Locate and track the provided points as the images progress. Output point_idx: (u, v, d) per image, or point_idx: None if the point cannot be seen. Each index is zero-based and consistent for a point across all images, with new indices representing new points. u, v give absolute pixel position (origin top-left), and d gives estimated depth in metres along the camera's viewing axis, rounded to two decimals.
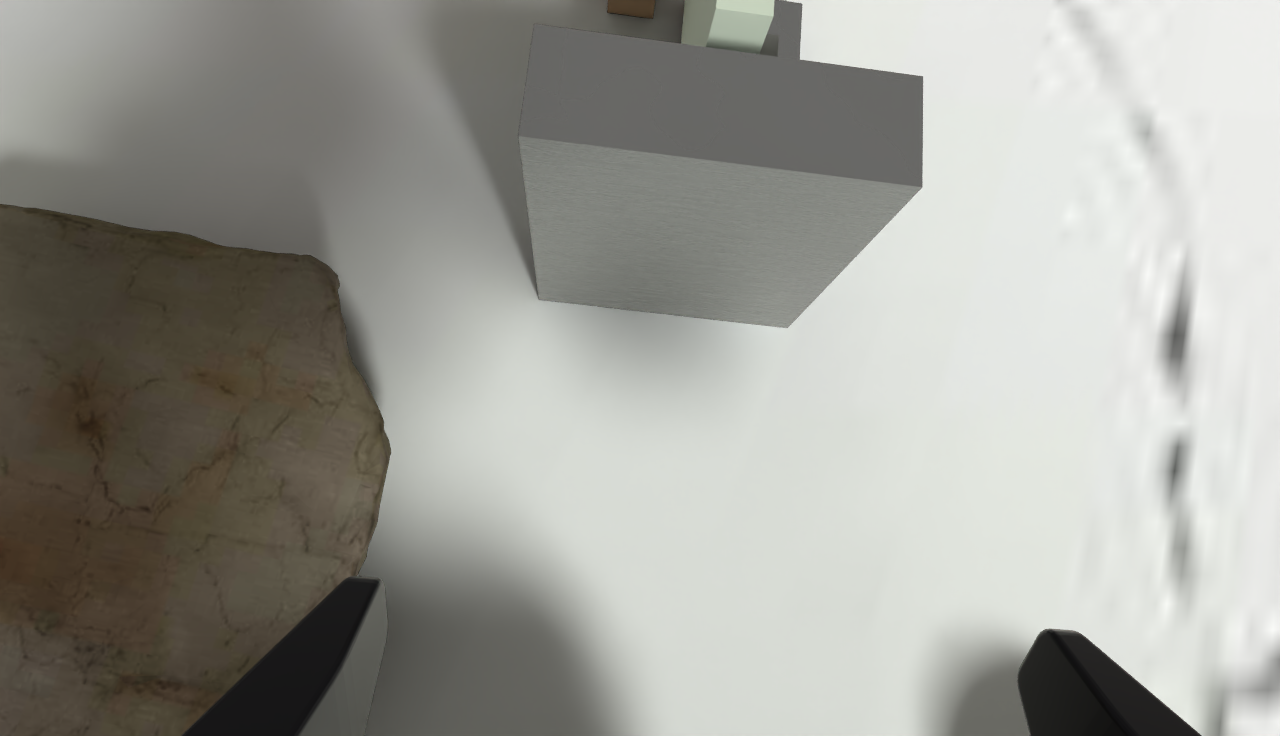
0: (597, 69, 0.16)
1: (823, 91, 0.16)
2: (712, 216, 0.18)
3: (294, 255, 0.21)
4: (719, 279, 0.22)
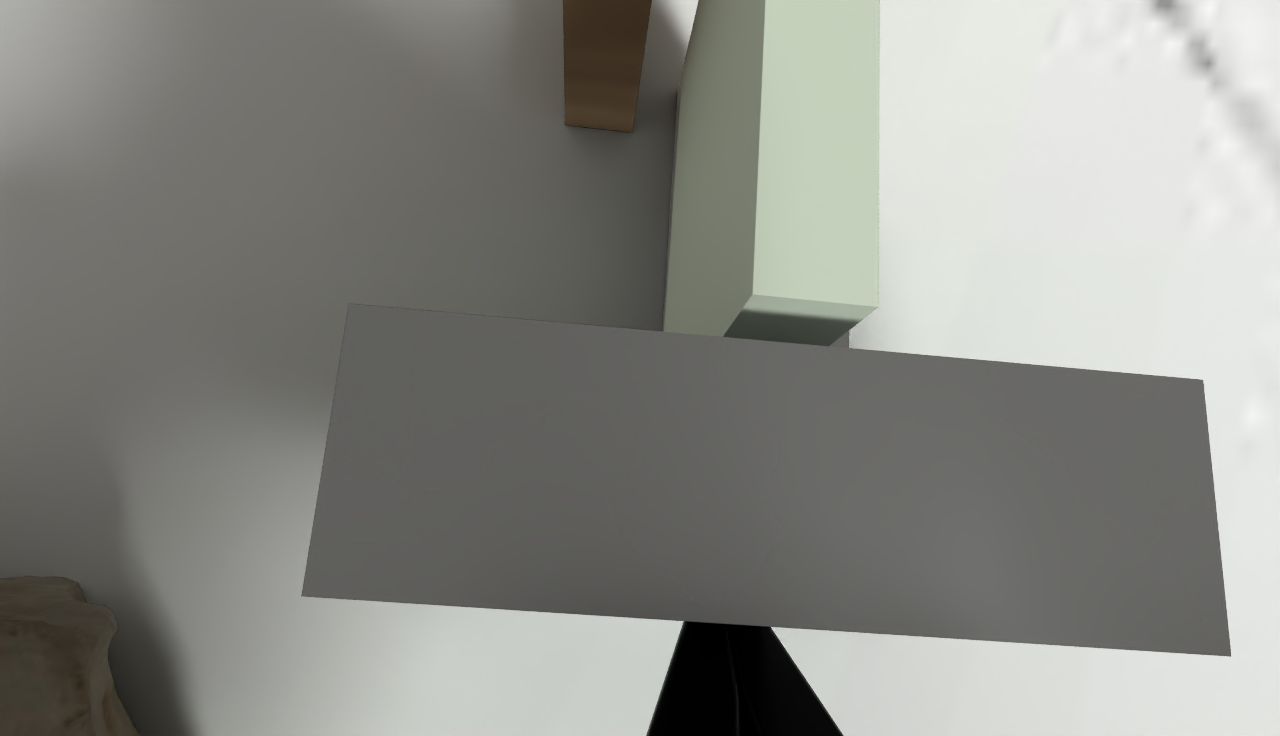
0: (492, 408, 0.07)
1: (996, 430, 0.07)
2: None
3: (11, 622, 0.12)
4: None
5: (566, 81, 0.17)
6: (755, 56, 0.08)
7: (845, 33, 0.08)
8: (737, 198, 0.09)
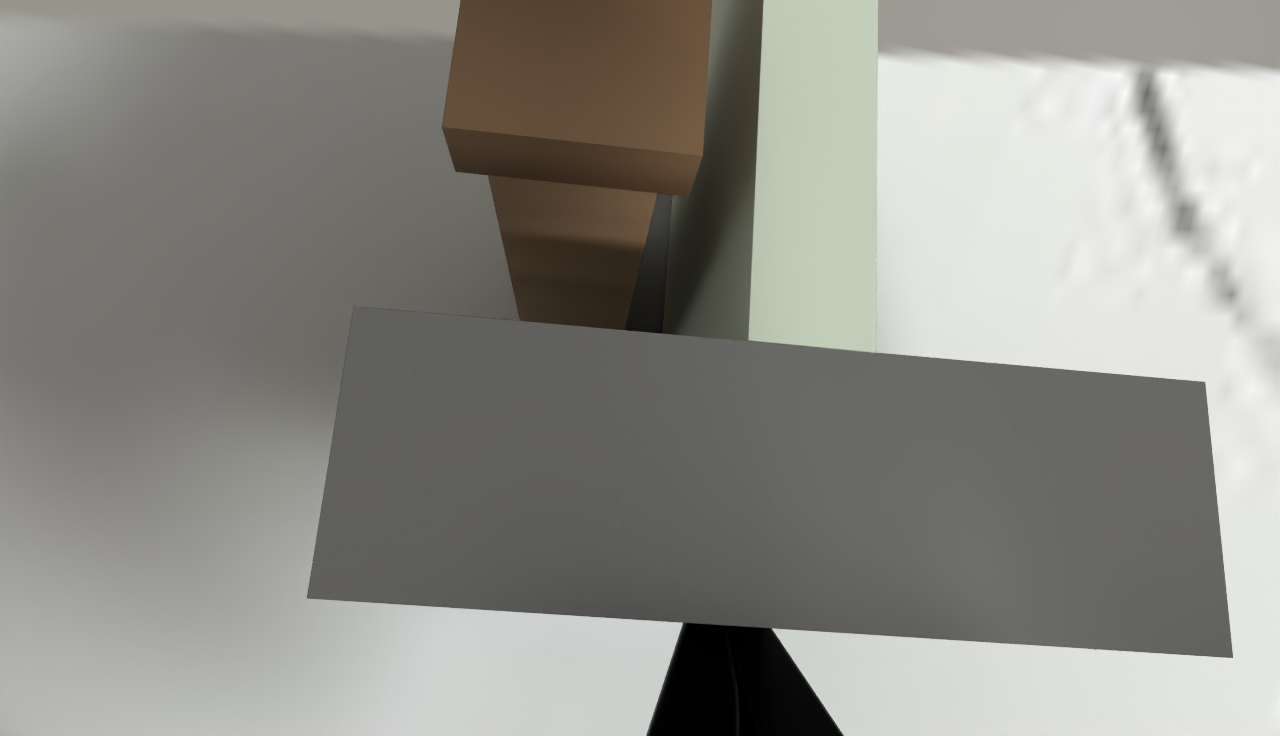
0: (496, 411, 0.07)
1: (999, 432, 0.07)
2: None
3: None
4: None
5: None
6: (751, 93, 0.08)
7: (842, 71, 0.08)
8: (733, 235, 0.09)
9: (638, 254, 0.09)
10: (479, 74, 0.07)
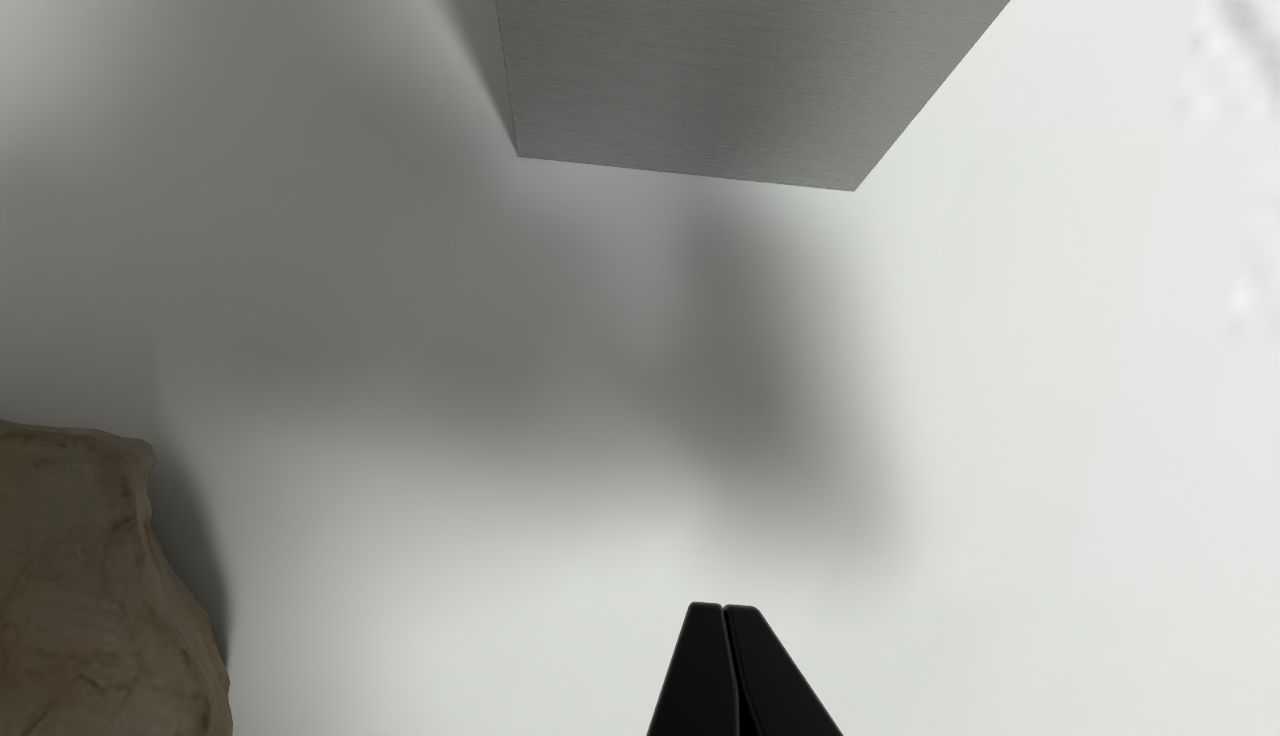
0: None
1: None
2: None
3: (60, 436, 0.13)
4: (772, 96, 0.15)
5: None
6: None
7: None
8: None
9: None
10: None
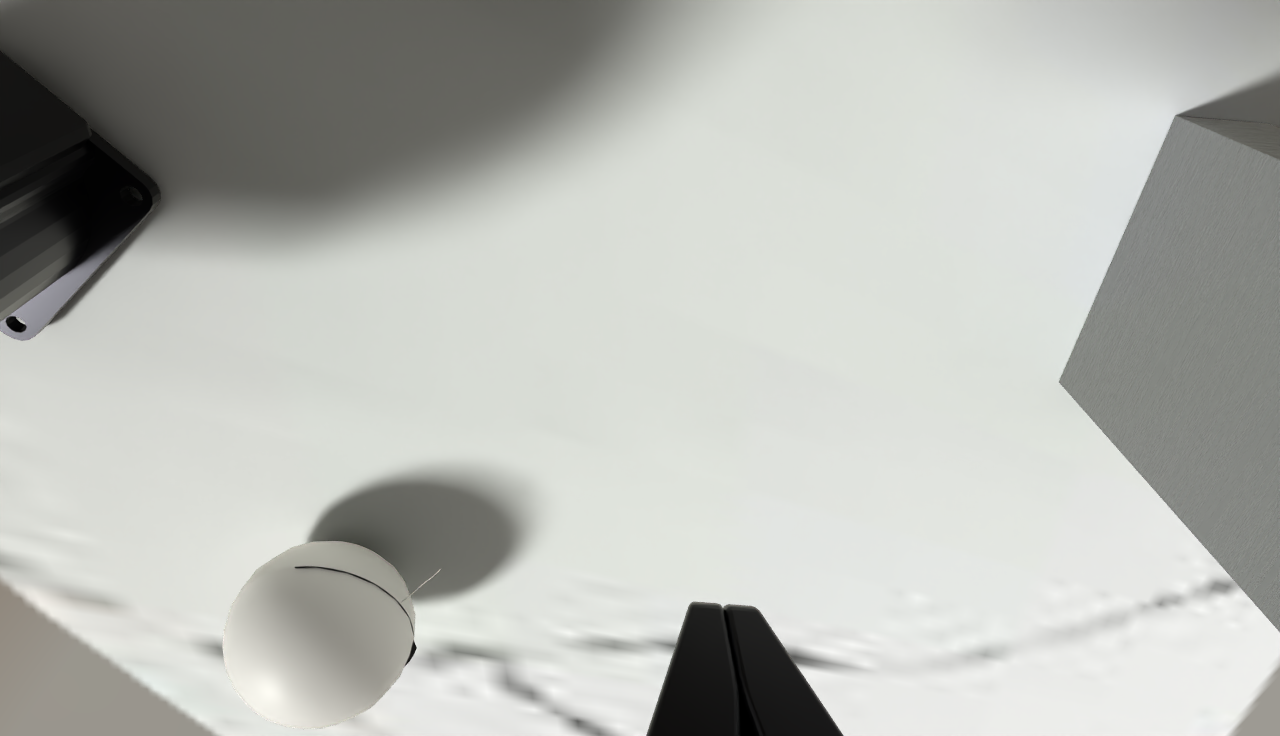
0: None
1: None
2: None
3: None
4: (1171, 363, 0.19)
5: None
6: None
7: None
8: None
9: None
10: None
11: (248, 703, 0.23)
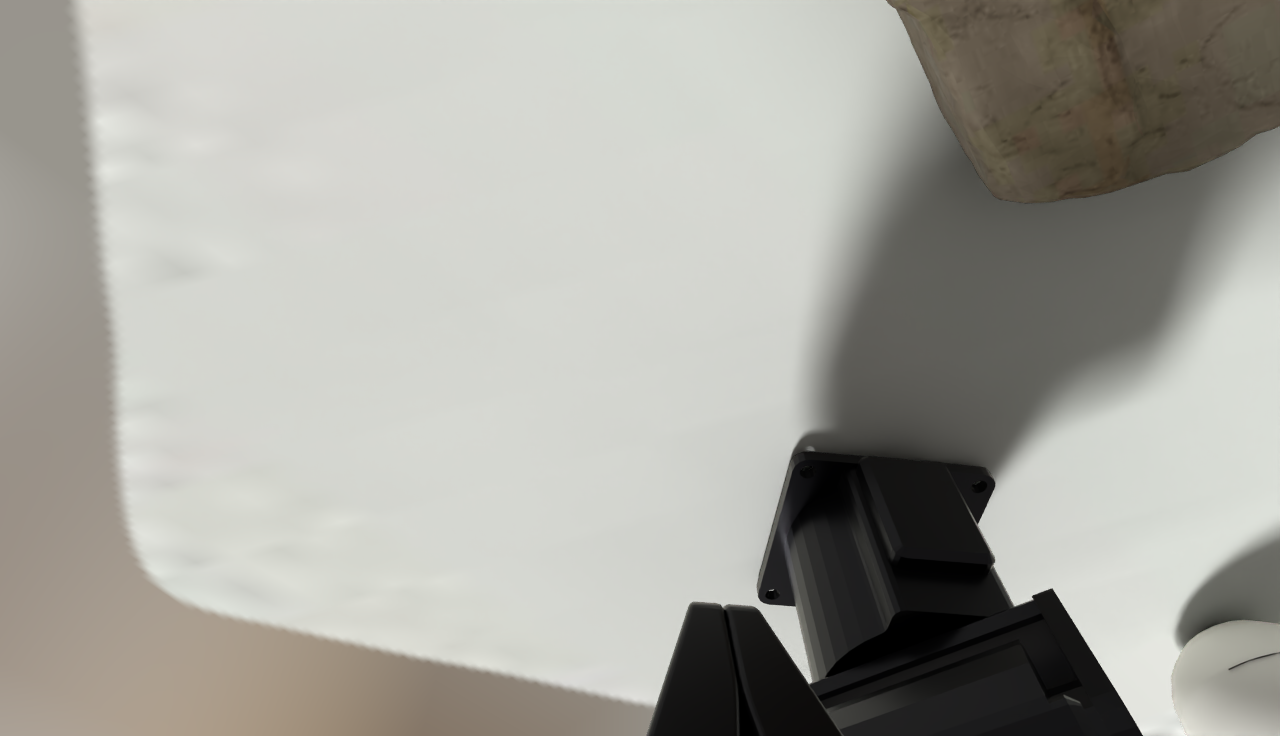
0: None
1: None
2: None
3: None
4: None
5: None
6: None
7: None
8: None
9: None
10: None
11: None
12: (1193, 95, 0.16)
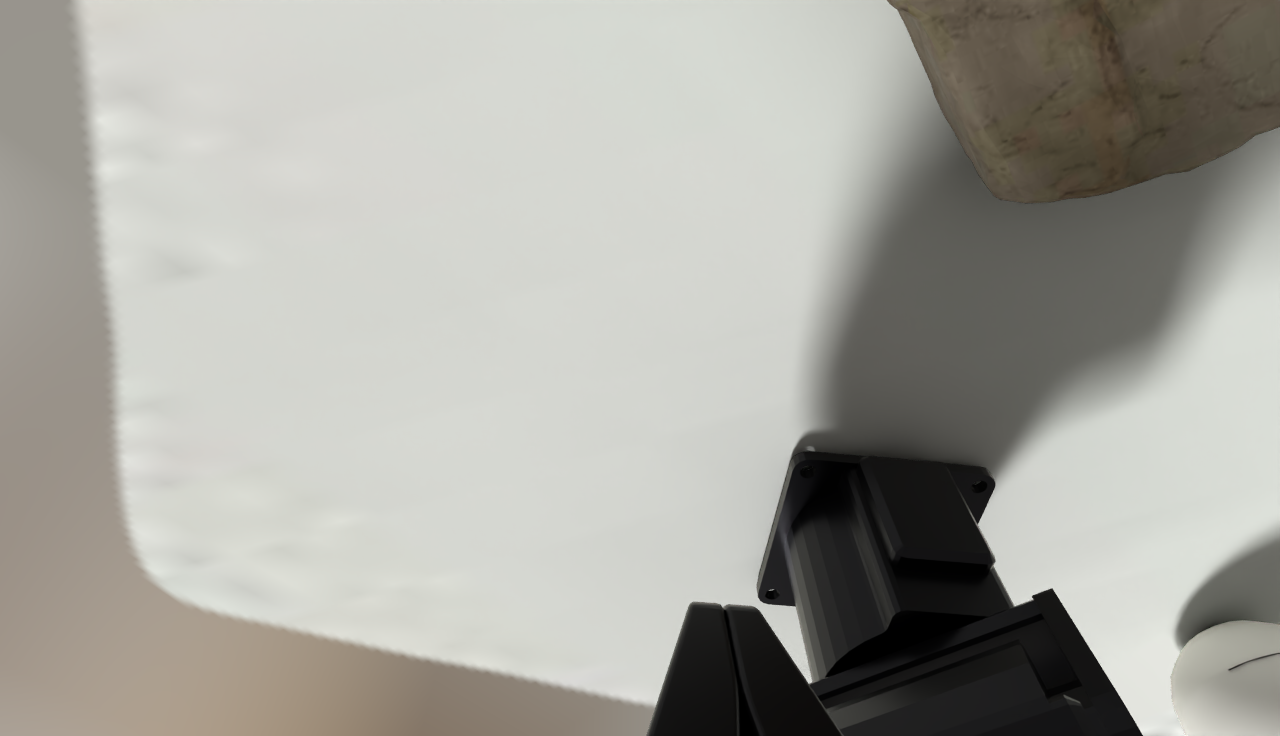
0: None
1: None
2: None
3: None
4: None
5: None
6: None
7: None
8: None
9: None
10: None
11: None
12: (1193, 96, 0.16)
